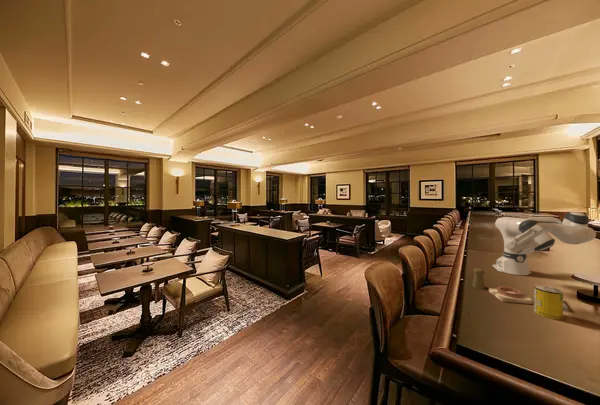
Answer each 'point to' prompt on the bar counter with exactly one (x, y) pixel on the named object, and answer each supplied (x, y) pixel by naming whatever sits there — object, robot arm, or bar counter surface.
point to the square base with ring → (510, 295)
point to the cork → (478, 279)
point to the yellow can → (548, 302)
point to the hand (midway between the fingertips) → (523, 234)
